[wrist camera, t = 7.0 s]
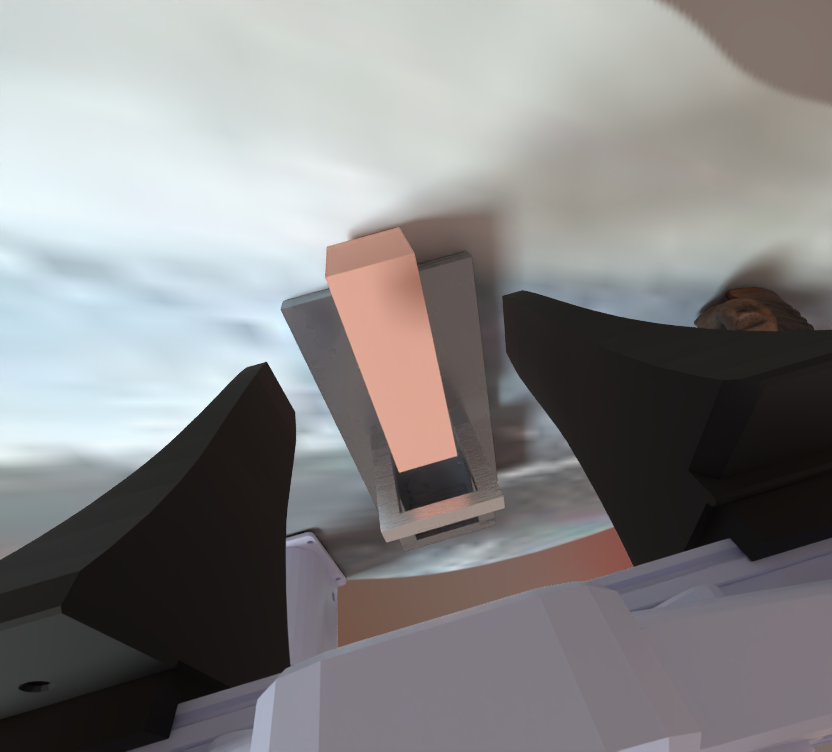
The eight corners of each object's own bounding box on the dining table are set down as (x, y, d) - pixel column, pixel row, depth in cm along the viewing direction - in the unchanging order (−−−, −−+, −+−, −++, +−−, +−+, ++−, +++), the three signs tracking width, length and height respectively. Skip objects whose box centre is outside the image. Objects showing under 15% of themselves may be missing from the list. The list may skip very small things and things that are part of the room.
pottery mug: (787, 322, 28) (842, 427, 24) (646, 359, 33) (673, 449, 30) (806, 224, 19) (894, 363, 16) (612, 295, 25) (645, 410, 21)
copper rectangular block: (441, 410, 24) (457, 455, 21) (390, 425, 24) (399, 472, 21) (399, 227, 17) (414, 252, 14) (327, 246, 17) (325, 277, 14)
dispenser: (493, 471, 31) (530, 554, 25) (379, 504, 30) (389, 595, 25) (466, 250, 19) (522, 308, 14) (282, 301, 19) (260, 382, 13)
